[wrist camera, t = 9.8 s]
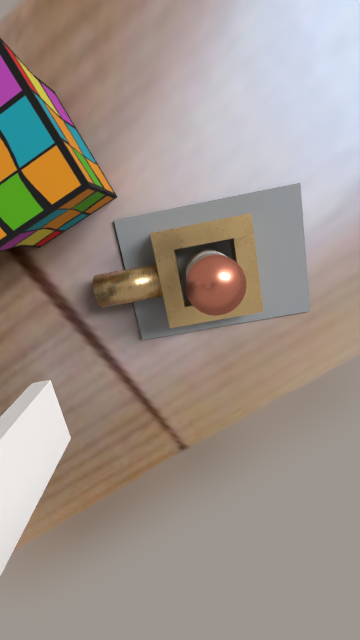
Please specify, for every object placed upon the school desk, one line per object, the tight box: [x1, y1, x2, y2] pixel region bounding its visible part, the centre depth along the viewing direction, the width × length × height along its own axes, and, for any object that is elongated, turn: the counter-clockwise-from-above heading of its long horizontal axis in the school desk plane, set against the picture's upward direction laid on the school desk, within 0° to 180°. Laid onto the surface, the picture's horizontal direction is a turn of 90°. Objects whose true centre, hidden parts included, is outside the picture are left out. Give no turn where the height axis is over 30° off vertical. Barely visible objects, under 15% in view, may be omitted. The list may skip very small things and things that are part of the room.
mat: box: [114, 183, 310, 340], centre depth 36 cm, size 20×14×1 cm
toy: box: [0, 38, 117, 252], centre depth 29 cm, size 11×10×10 cm
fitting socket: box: [93, 213, 263, 328], centre depth 34 cm, size 17×10×4 cm, turn 101°
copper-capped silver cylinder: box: [186, 248, 247, 316], centre depth 30 cm, size 5×5×12 cm
